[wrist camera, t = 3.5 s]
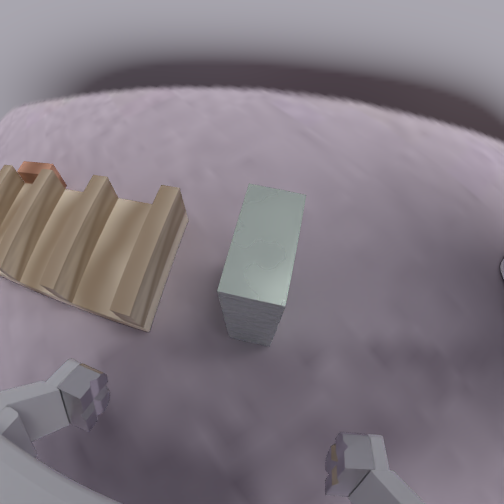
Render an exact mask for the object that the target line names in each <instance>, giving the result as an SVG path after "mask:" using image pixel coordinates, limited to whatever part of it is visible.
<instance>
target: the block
mask: <svg viewBox="0 0 504 504" xmlns="http://www.w3.org/2000/svg"><path fill="white" fill-rule="evenodd" d="M305 199H306V195H304V194H299V193H294V192H289V191H285V190H280V189H275V188H270V187H264V186H259V185H254V184H249V185H248V189H247V192H246V195H245V198H244V202H243V205H242V208H241V212H240V215H239V218H238V222H237V225H236V228H235V232H234V235H233V238H232V242H231V245H230V248H229V252H228V255H227V259H226V262H225V265H224V269H223V272H222V276H221V279H220V283H219V286H218V290H217V293H218V297H219V300H220V304H221V308H222V312H223V316H224V320H225V324H226V328H227V331H228V335H229V337H230V338H234V339H238V340H242V341H247V342H251V343H255V344H260V345H265V346H269V347H270V345H271V342H272V340H273V337H274V334H275V332H276V329H277V327H278V324H279V322H280V319H281V316H282V314H283V311H284V308H285V306H286V301H287V296H288V291H289V286H290V281H291V276H292V270H293V265H294V260H295V255H296V249H297V244H298V239H299V233H300V228H301V222H302V216H303V211H304V205H305Z"/></svg>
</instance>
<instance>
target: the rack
mask: <svg viewBox="0 0 504 504" xmlns="http://www.w3.org/2000/svg"><path fill="white" fill-rule="evenodd" d="M17 172H18V173H17ZM17 172H16V170H15V169H14V167H13V166H11V165H4V166H3V168H2V169H1V171H0V276H2V277H4V278H6V279H9V280H11V281H13V282H15V283H18V284H20V285H22V286H24V287H27V288H29V289H31V290H34V291H36V292H38V293H41V294H43V295H46V296H48V297H51V298H53V299H56V300H58V301H61V302H63V303H66V304H68V305H71V306H74V307H76V308H79V309H82V310H84V311H87V312H90V313H93V314H95V315H98V316H101V317H104V318H107V319H110V320H112V321H115V322H118V323H121V324H124V325H127V326H130V327H133V328H137V329H140V330H143V331H146V332H150V329H151V326H152V323H153V319H154V316H155V313H156V310H157V307H158V304H159V301H160V298H161V295H162V292H163V289H164V286H165V284H166V281H167V278H168V275H169V272H170V269H171V266H172V264H173V261H174V258H175V255H176V252H177V250H178V247H179V244H180V242H181V239H182V236H183V234H184V231H185V228H186V226H187V223H188V217H187V213H186V210H185V206H184V202H183V199H182V195H181V192H180V188H177V187H171V186H164V185H161V187H160V189H159V191H158V193H157V195H156V197H155V200H154V202H153V204H148V203H142V202H137V201H131V200H126V199H120V198H118V196H117V194H116V193H115V191H114V189H113V187H112V185H111V183H110V181H109V179H108V177H105V176H97V175H93V176H92V178H91V180H90V181H89V183H88V185H87V187H86V188H85V190H84V192H79V191H73V190H67V189H65V188H66V186H67V185H66V183H65V182H64V180H63V179H62V177H61V176H60V174H59V173H58V171H57V170H56V168H55V166H54V165H53V164H48V163H37V162H26V161H24V162H23V163H22V165H21V166H20V168H19V169H18V171H17ZM19 175H20V176H21V177H20V176H19ZM22 179H23V180H24V181H23V180H22Z"/></svg>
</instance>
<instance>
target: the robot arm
mask: <svg viewBox="0 0 504 504" xmlns="http://www.w3.org/2000/svg"><path fill="white" fill-rule="evenodd" d="M500 268H501V273H502V276H503V279H504V259H503V260H502V262H501V266H500ZM107 382H108V379H107V374H105V373H103V372H101V371H98V370H96V369H94V368H92V367H89V366H87V365H85V364H83V363H80V362H78V361H76V360H74V359H69V360H67V361H66V362H65V363H64V364H63V365H62V366H61V367H60V368H59V369H58V370H57V371H56V372H55V373H54V374H53V375H52V376H51V377H50V378H49V379H48V380H47V381H46V382H44V381H39V382H35V383H31V384H28V385H24V386H20V387H16V388H12V389H7V390H3V391H0V504H122V503H120V502H118V501H115V500H113V499H111V498H109V497H106V496H104V495H102V494H100V493H98V492H96V491H94V490H91V489H89V488H87V487H85V486H83V485H82V484H80V483H78V482H76V481H74V480H72V479H70V478H68V477H66V476H65V475H63V474H61V473H59V472H58V471H56V470H54V469H52V468H51V467H49V466H47V465H46V464H44V463H43V462H41V461H39V460H38V459H36V458H35V457H36V456H37V451H36V450H35V448H34V446H33V444H32V442H33V441H35V440H37V439H40V438H42V437H44V436H46V435H49V434H51V433H53V432H55V431H57V430H60V429H62V428H64V427H66V426H68V425H70V424H72V425H74V426H76V427H78V428H80V429H82V430H85V431H87V432H90V431H91V429H92V428H93V426H94V425H95V424H96V422H97V415H99V414H101V413H103V412H104V411H105V409H106V408H107V406H108V403H109V399H110V393H109V389H108V388H107V387H106V383H107ZM69 423H70V424H69ZM335 439H336V444H334V445H332V446H331V447H330V449H329V451H328V454H327V457H326V462H325V470H326V471H327V473H328V474H329V475H328V477H327V478H326V480H325V495H331V496H344V497H348V498H349V500H350V501H351V503H352V504H426V503H425V502H424V501H423V500H422V499H421V498H420V497H419V496H418V495H417V494H416V493H415V492H414V491H413V490H412V489H411V488H410V487H409V486H408V485H407V484H406V483H405V482H404V481H403V480H402V479H401V478H400V477H399V476H398V475H397V474H396V473H395V472H394V471H390V470H389V465H388V459H387V454H386V449H385V444H384V439H383V436H382V435H374V434H361V433H349V432H340V433H338V435H337V437H336V438H335Z"/></svg>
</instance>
